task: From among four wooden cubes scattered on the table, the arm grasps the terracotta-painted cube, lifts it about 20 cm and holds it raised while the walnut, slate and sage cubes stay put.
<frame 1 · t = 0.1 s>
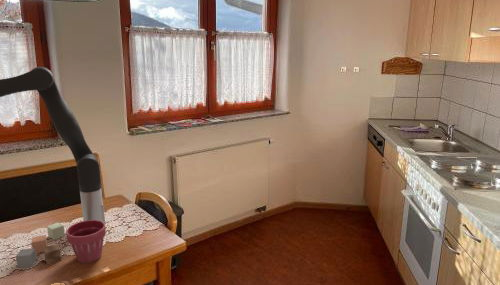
sage cube: (56, 236, 174), on the table
plant pot: (89, 257, 157), on the table
walnut cube: (53, 259, 155), on the table
terracotta cube: (40, 249, 163), on the table
slate cube: (27, 263, 152), on the table
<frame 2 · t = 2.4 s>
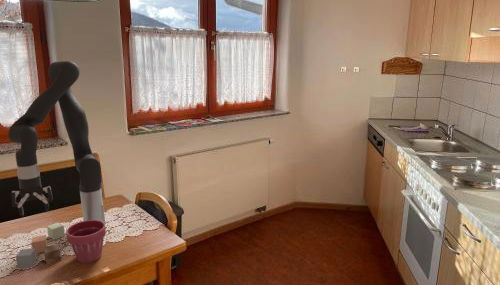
hand: (34, 213, 159), 16 cm above the table, fingers open, 8 cm apart
nothing on the table moved.
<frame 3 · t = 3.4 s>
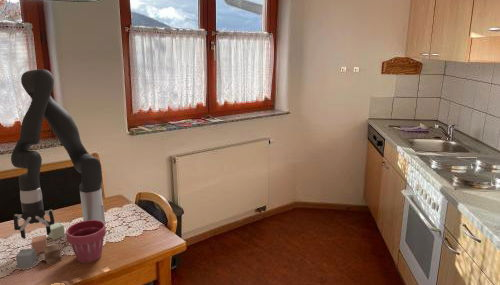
hand: (36, 236, 161), 6 cm above the table, fingers open, 8 cm apart
nothing on the table moved.
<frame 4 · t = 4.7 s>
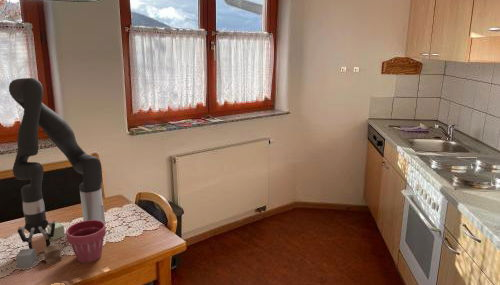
hand: (40, 247, 163), 1 cm above the table, fingers closed on terracotta cube, 5 cm apart
terracotta cube: (40, 249, 163), on the table, touching gripper
everything else where it was.
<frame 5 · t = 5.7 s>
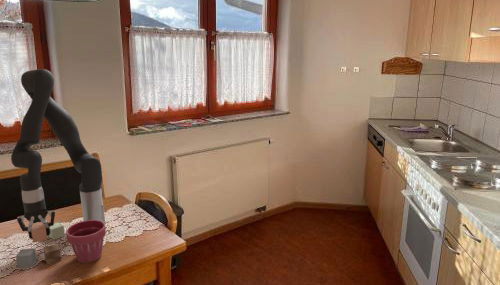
hand: (40, 236, 161), 6 cm above the table, fingers closed on terracotta cube, 5 cm apart
terracotta cube: (40, 238, 161), point 5 cm above the table, touching gripper
everything else where it was.
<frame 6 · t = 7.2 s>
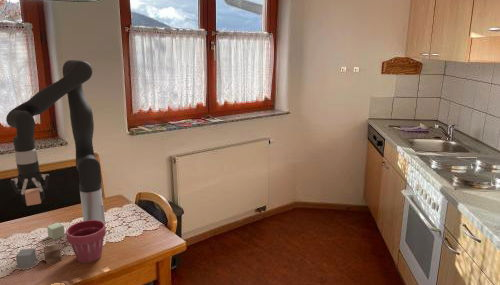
hand: (33, 200, 159), 21 cm above the table, fingers closed on terracotta cube, 5 cm apart
terracotta cube: (34, 202, 159), point 20 cm above the table, touching gripper
everything else where it was.
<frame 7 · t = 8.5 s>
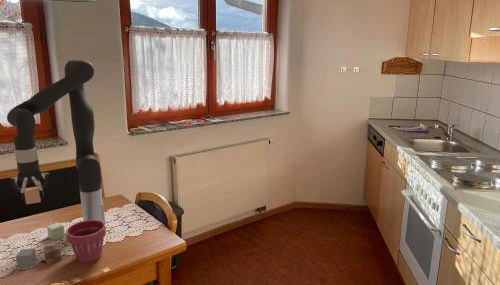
hand: (33, 199, 159), 21 cm above the table, fingers closed on terracotta cube, 5 cm apart
terracotta cube: (33, 201, 159), point 21 cm above the table, touching gripper
everything else where it was.
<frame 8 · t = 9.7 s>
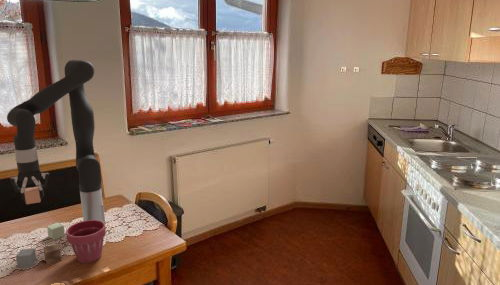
hand: (33, 199, 159), 21 cm above the table, fingers closed on terracotta cube, 5 cm apart
terracotta cube: (33, 201, 159), point 21 cm above the table, touching gripper
everything else where it was.
at the end: the gripper is holding terracotta cube; terracotta cube point 20.6 cm above the table; slate cube moved 0.1 cm from its start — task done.
